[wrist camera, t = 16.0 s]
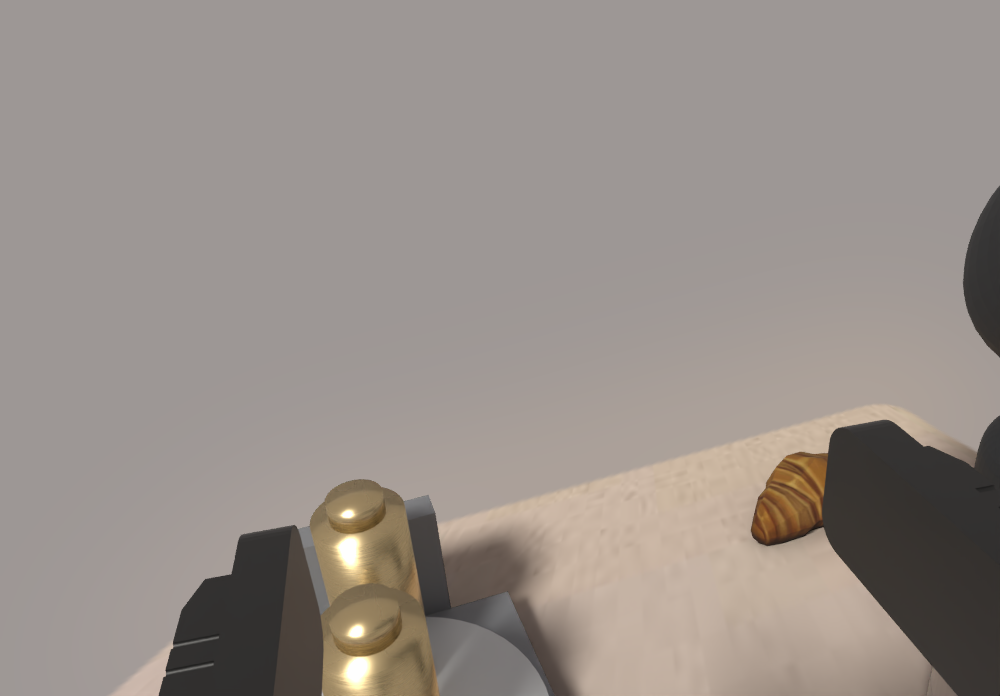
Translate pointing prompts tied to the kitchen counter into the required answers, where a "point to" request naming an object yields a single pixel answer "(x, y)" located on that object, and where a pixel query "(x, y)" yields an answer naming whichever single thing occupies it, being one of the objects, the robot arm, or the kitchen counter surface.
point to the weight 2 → (376, 645)
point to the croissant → (791, 499)
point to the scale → (459, 622)
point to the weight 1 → (364, 540)
